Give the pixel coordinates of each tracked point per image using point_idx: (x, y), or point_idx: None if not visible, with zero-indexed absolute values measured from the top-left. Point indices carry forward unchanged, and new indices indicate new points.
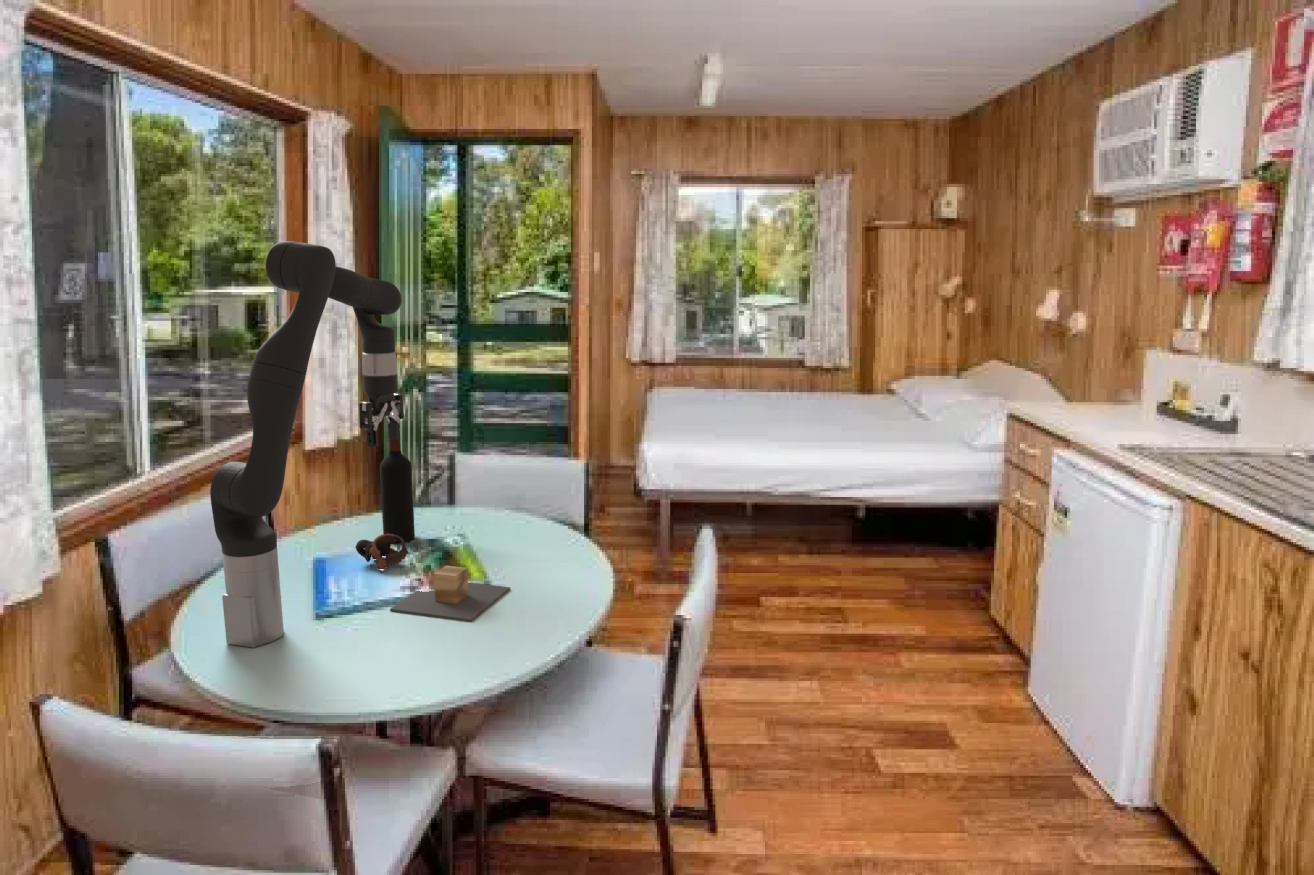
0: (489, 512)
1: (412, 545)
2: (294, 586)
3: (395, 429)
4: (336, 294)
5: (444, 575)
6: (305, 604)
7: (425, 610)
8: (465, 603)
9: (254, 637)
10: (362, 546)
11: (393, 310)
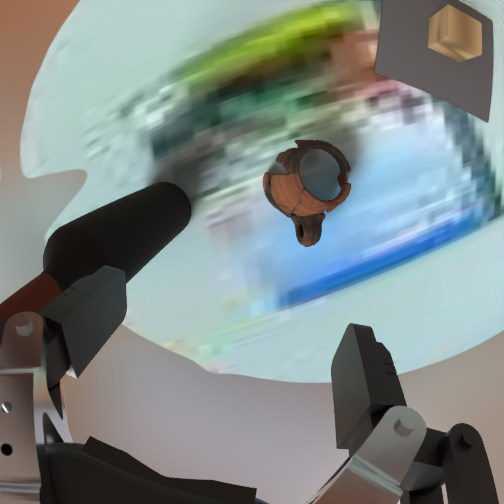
0: (32, 125)
1: (192, 172)
2: (403, 288)
3: (88, 308)
4: None
5: (480, 39)
6: (465, 246)
7: (486, 74)
8: None
9: None
10: (321, 230)
11: None
